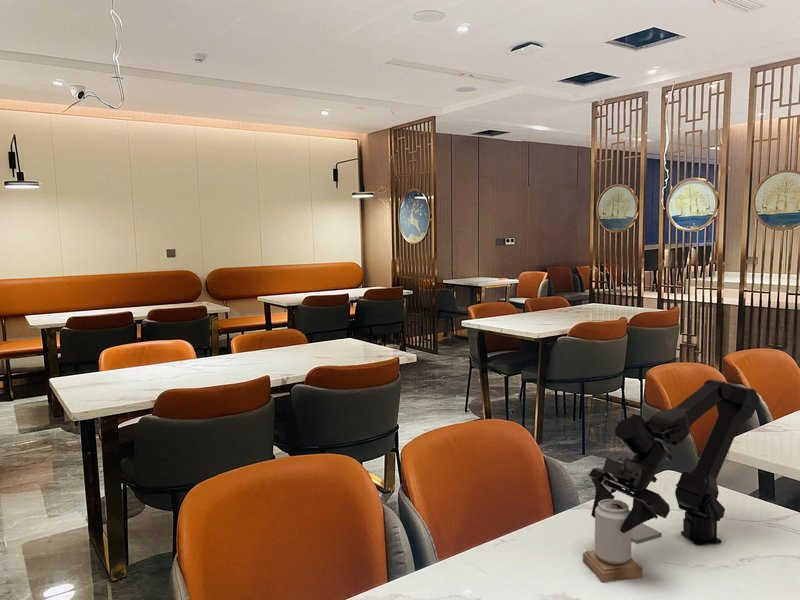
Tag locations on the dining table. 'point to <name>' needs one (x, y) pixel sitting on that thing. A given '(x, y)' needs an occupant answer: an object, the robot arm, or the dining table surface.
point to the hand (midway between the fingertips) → (607, 524)
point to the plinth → (611, 568)
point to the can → (612, 532)
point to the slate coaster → (644, 533)
